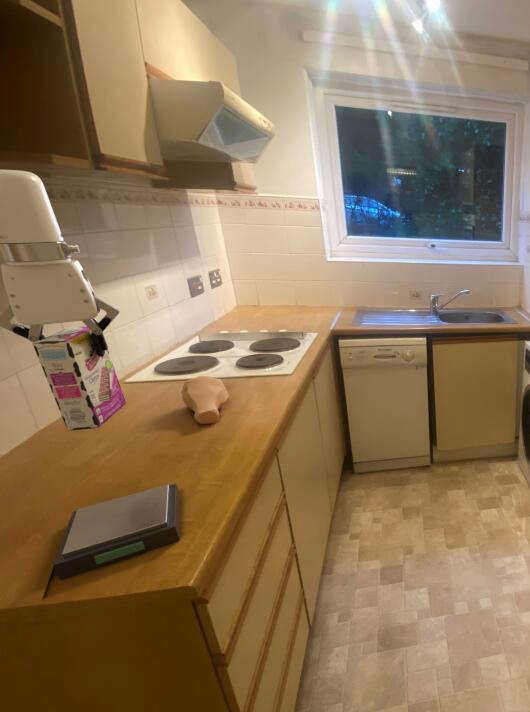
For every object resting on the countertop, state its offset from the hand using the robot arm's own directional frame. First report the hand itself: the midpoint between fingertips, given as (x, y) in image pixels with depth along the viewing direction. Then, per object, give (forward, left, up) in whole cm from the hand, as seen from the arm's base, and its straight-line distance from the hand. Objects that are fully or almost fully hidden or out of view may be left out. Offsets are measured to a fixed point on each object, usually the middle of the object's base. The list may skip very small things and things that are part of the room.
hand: (77, 357), depth 77 cm
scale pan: (+1, -16, -25) cm, 30 cm away
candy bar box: (0, 0, -12) cm, 12 cm away
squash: (+15, +33, -29) cm, 46 cm away
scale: (+1, -16, -28) cm, 33 cm away
